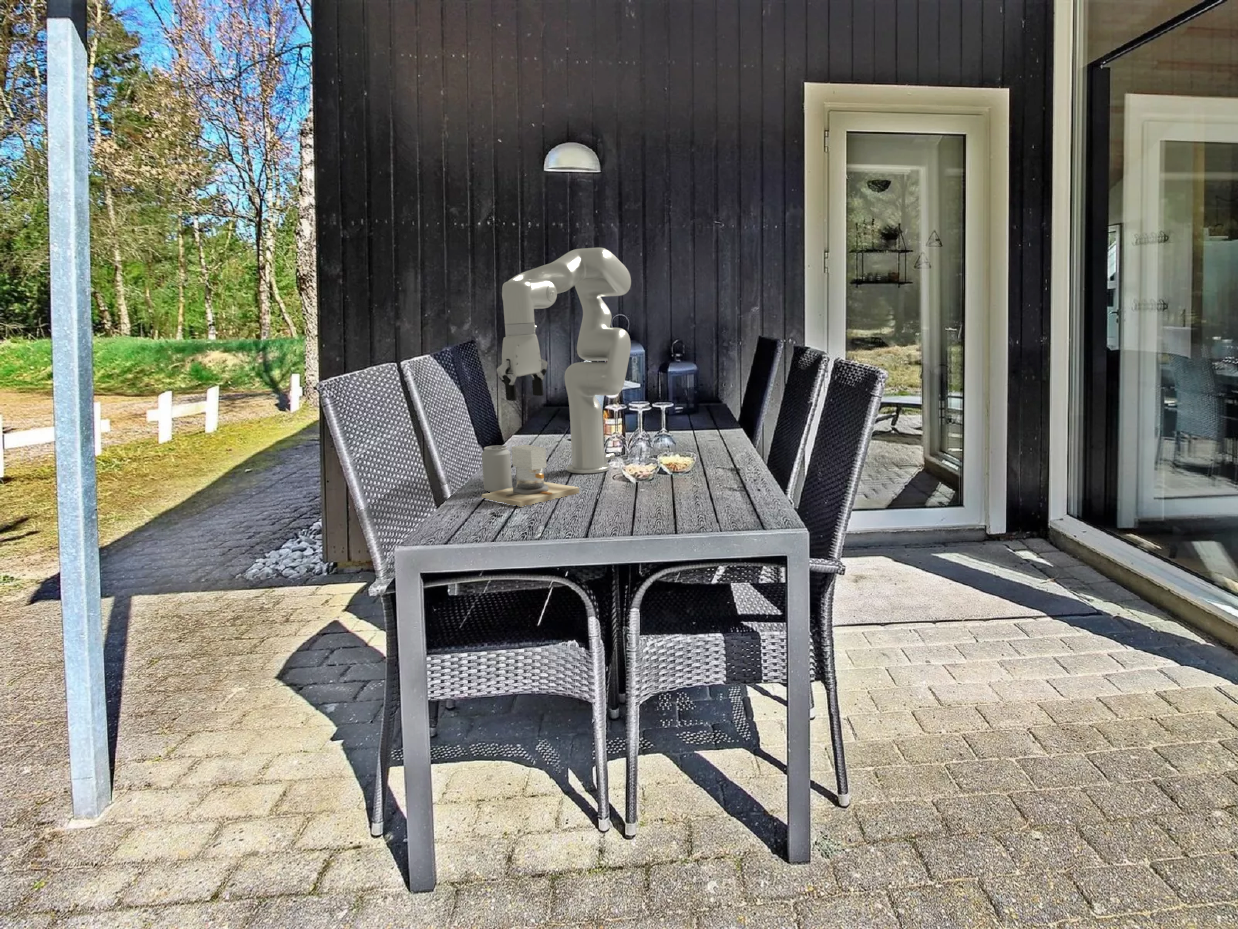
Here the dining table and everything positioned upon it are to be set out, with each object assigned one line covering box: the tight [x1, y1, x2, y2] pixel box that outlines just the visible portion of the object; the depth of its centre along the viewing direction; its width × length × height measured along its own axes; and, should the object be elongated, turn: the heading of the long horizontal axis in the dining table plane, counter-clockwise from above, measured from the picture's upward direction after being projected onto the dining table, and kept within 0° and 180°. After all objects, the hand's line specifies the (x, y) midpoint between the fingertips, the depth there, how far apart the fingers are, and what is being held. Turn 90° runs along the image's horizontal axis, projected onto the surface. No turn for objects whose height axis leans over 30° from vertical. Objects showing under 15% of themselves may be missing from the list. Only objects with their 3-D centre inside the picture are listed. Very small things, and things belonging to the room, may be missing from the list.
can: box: [481, 445, 513, 493], centre depth 231 cm, size 8×8×12 cm
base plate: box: [481, 481, 580, 508], centre depth 224 cm, size 20×15×2 cm
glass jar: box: [511, 444, 547, 489], centre depth 222 cm, size 10×7×10 cm
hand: (525, 397), depth 224 cm, fingers open, 9 cm apart
